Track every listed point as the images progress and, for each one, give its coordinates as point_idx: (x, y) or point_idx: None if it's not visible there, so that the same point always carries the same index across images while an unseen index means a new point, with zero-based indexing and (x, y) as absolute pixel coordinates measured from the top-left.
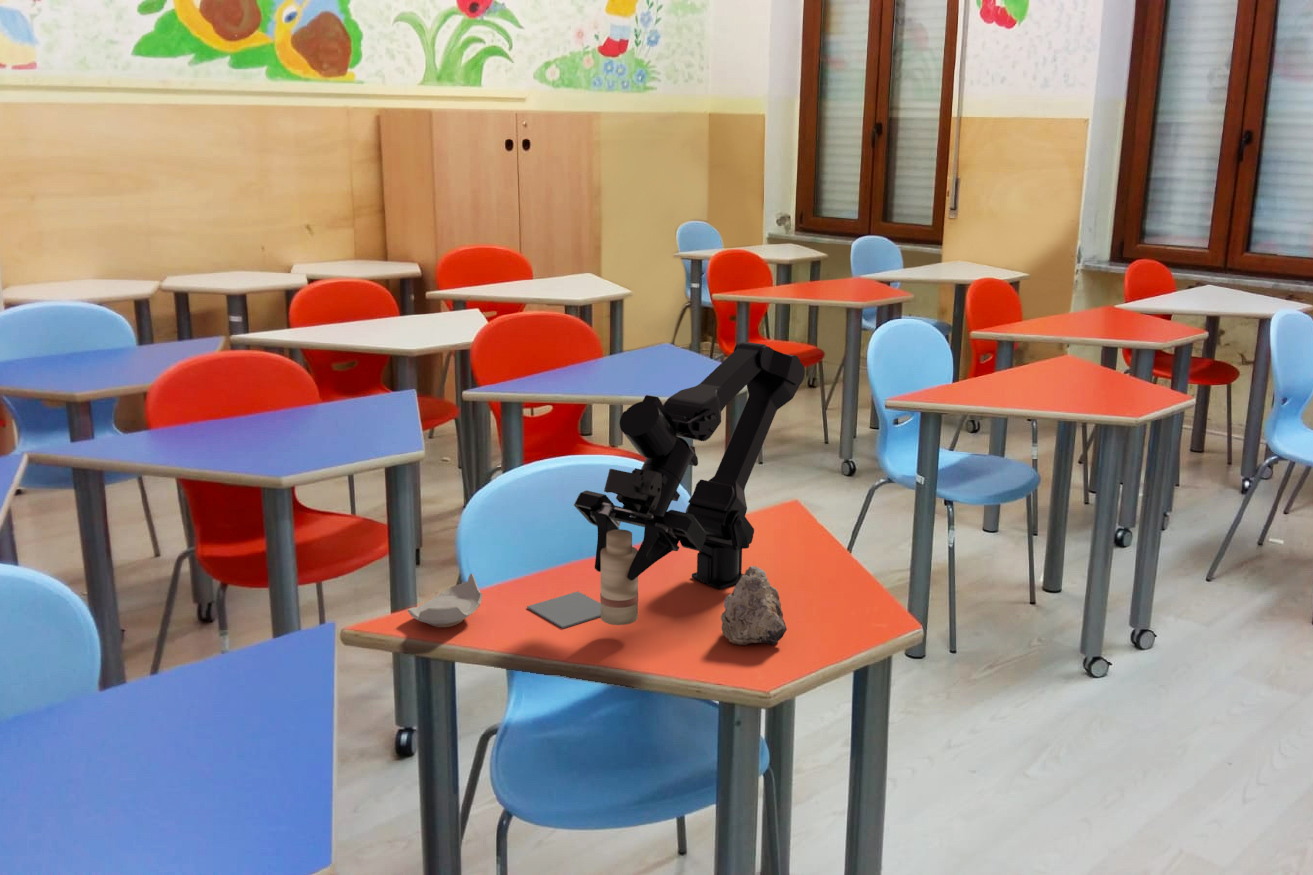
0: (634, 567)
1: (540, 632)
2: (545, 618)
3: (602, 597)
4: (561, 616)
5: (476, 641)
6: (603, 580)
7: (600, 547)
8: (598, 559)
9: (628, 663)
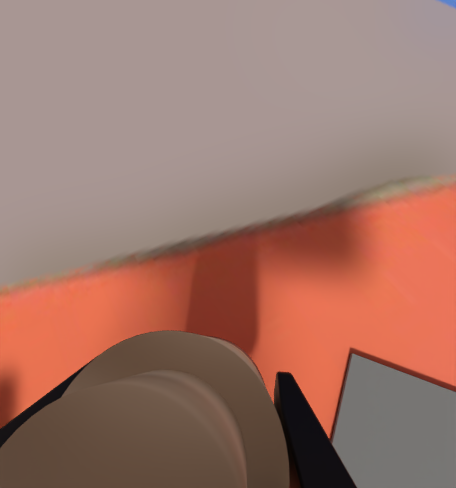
0: (60, 388)
1: (376, 311)
2: (424, 380)
3: (234, 344)
4: (397, 405)
5: (442, 212)
6: (225, 342)
7: (319, 474)
8: (289, 403)
9: (144, 285)
